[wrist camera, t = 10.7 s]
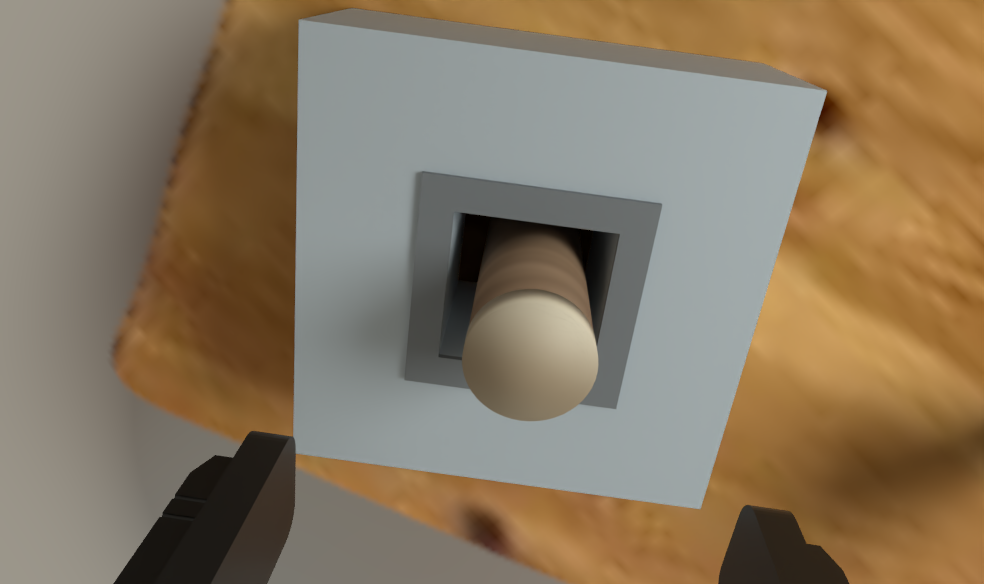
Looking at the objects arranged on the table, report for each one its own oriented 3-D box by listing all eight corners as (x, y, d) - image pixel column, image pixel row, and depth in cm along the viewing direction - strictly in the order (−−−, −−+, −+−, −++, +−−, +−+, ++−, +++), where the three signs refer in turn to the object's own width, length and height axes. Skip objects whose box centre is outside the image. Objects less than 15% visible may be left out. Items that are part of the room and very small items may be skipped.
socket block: (352, 7, 25) (296, 20, 19) (763, 63, 25) (830, 92, 19) (337, 365, 30) (291, 456, 25) (671, 411, 30) (701, 513, 25)
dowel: (493, 182, 27) (469, 293, 18) (586, 195, 27) (610, 312, 18) (482, 268, 28) (455, 411, 19) (571, 280, 28) (585, 429, 19)
